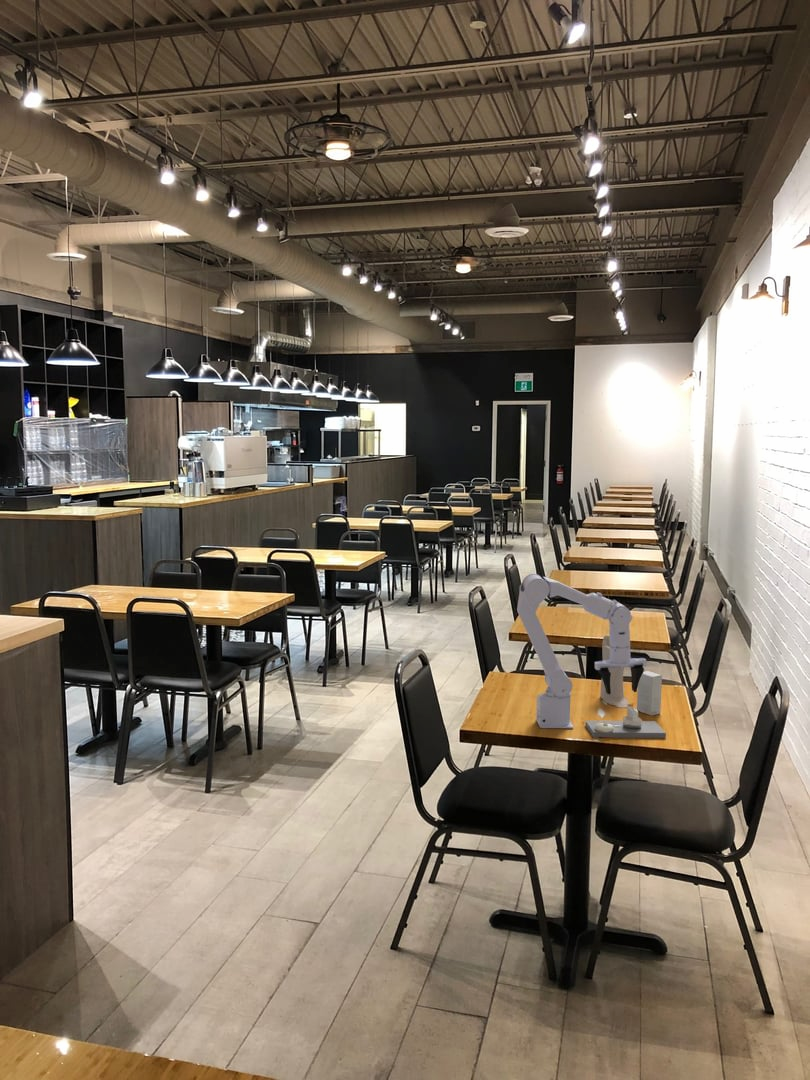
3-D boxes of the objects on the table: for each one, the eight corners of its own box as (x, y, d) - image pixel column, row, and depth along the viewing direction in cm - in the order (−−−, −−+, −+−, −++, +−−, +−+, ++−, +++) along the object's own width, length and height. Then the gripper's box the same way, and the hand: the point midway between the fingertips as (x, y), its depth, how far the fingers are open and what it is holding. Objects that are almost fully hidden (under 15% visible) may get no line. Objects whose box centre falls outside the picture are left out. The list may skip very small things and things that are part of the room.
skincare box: (661, 714, 255) (662, 675, 254) (650, 716, 253) (652, 676, 252) (646, 708, 260) (647, 670, 259) (635, 710, 258) (637, 672, 257)
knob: (644, 729, 235) (644, 709, 235) (626, 729, 235) (626, 709, 235) (637, 722, 241) (638, 703, 241) (620, 722, 241) (621, 703, 241)
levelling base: (593, 737, 233) (593, 726, 233) (585, 725, 243) (585, 714, 243) (665, 738, 234) (666, 726, 233) (654, 726, 244) (655, 715, 243)
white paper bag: (613, 708, 260) (616, 644, 258) (596, 695, 274) (599, 634, 271) (636, 707, 261) (638, 643, 259) (618, 694, 275) (620, 633, 273)
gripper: (599, 651, 237) (600, 698, 239) (649, 647, 238) (651, 694, 240) (591, 645, 244) (593, 691, 246) (641, 641, 245) (642, 687, 247)
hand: (621, 692), depth 243 cm, fingers open, 7 cm apart
